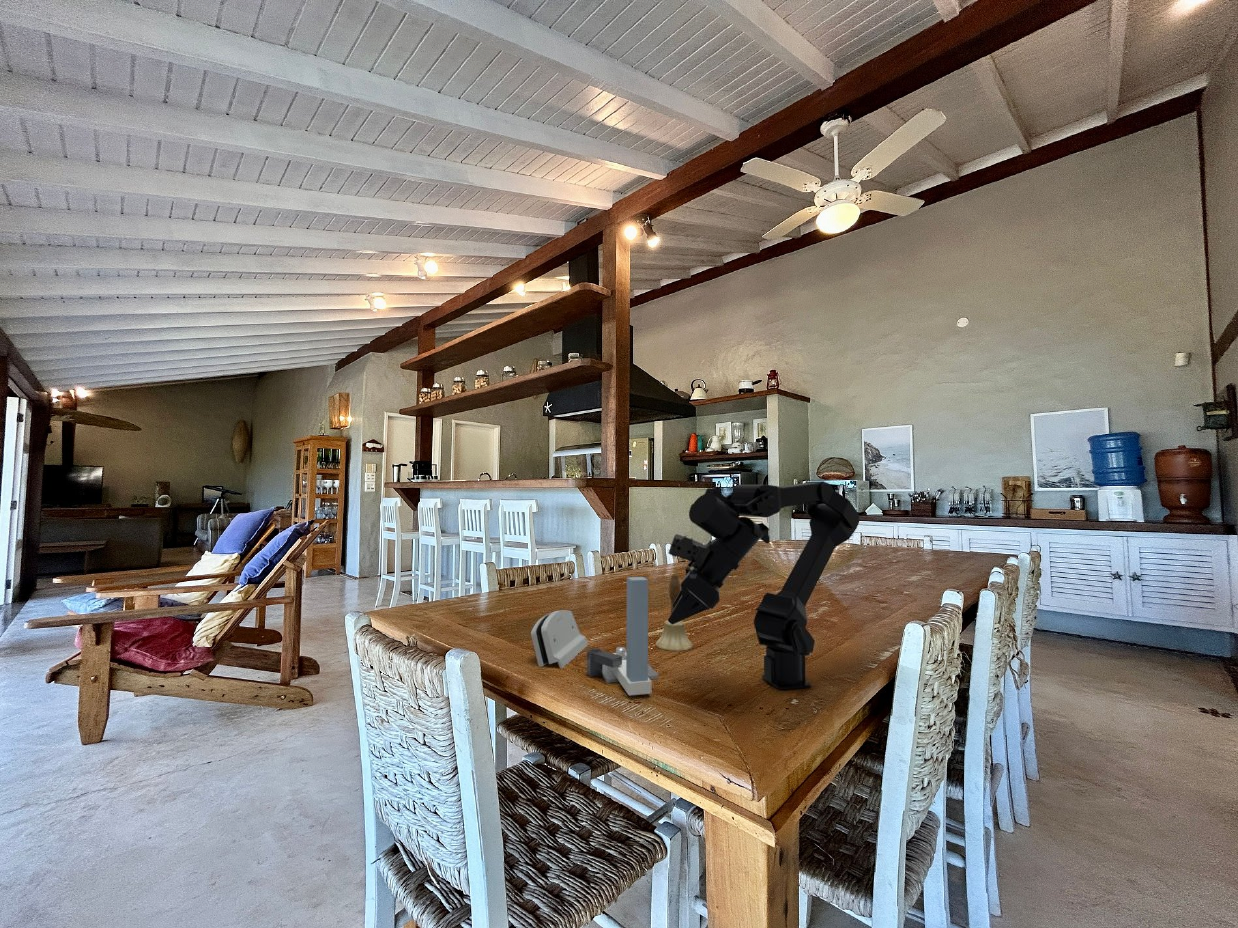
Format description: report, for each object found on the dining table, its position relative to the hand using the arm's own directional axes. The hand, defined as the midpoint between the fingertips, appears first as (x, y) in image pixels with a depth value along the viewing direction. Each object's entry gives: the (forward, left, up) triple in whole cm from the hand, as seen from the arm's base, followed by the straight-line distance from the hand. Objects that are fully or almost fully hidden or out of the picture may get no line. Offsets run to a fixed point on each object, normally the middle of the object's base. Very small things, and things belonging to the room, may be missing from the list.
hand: (672, 614), depth 91 cm
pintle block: (+6, -11, -13) cm, 18 cm away
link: (+6, -6, -12) cm, 15 cm away
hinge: (+17, -24, -13) cm, 32 cm away
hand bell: (-10, -24, -13) cm, 29 cm away
